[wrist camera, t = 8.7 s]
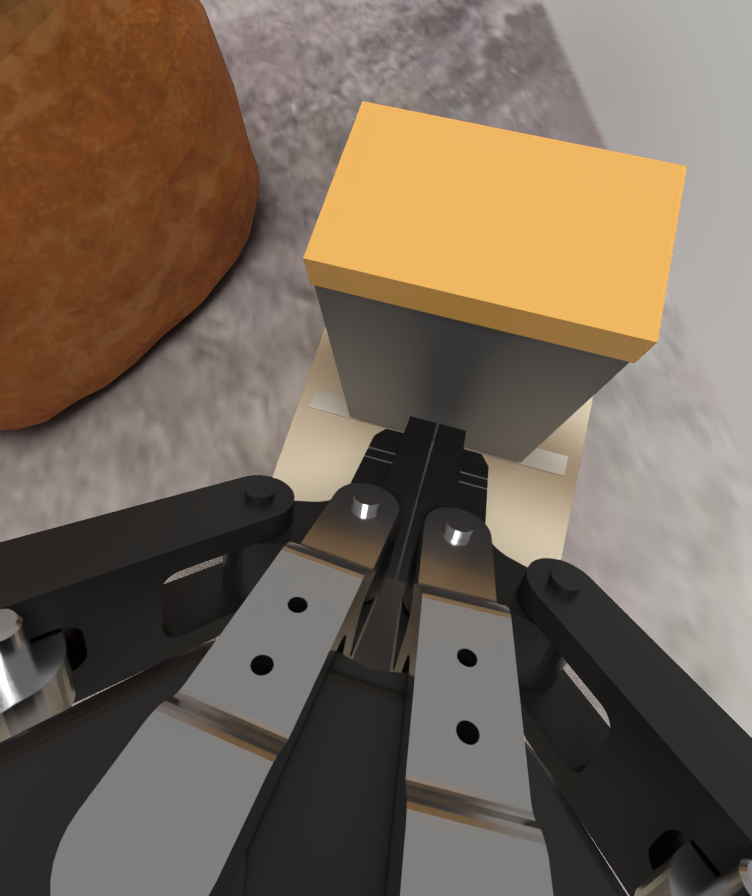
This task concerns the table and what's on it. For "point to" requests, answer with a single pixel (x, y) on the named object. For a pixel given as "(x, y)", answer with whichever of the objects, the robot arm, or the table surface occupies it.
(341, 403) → the grooved wooden slider track
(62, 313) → the bread
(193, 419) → the table surface
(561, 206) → the fader knob
